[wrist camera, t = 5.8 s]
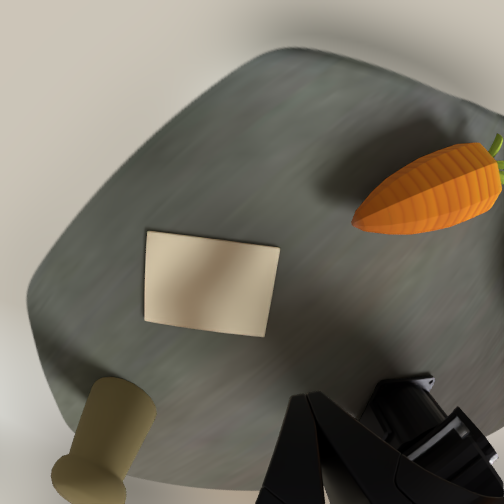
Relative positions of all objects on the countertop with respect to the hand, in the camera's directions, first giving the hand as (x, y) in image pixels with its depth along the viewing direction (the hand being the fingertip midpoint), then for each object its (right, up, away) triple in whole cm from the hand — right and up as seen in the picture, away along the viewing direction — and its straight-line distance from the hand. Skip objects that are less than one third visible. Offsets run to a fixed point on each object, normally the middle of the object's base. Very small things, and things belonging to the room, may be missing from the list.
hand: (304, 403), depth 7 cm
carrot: (+4, +6, +8) cm, 10 cm away
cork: (-12, -8, +13) cm, 20 cm away
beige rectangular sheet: (-4, +2, +11) cm, 12 cm away
